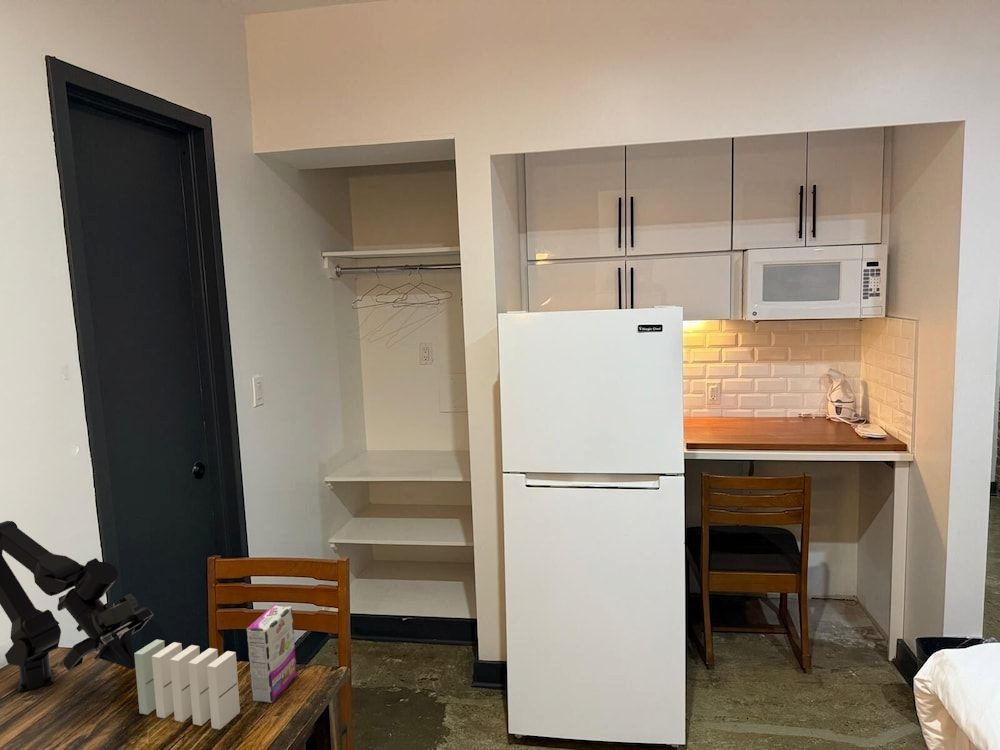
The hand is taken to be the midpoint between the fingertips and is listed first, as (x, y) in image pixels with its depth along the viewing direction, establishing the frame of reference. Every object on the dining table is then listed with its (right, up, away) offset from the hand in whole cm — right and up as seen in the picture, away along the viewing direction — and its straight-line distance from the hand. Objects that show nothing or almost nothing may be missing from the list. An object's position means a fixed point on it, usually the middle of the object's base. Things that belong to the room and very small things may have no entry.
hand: (135, 667), depth 148 cm
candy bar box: (+28, -7, +5) cm, 29 cm away
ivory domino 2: (+13, -8, -3) cm, 15 cm away
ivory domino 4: (+21, -8, -6) cm, 24 cm away
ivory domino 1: (+9, -8, -2) cm, 12 cm away
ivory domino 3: (+17, -8, -5) cm, 19 cm away
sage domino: (+4, -8, 0) cm, 9 cm away
